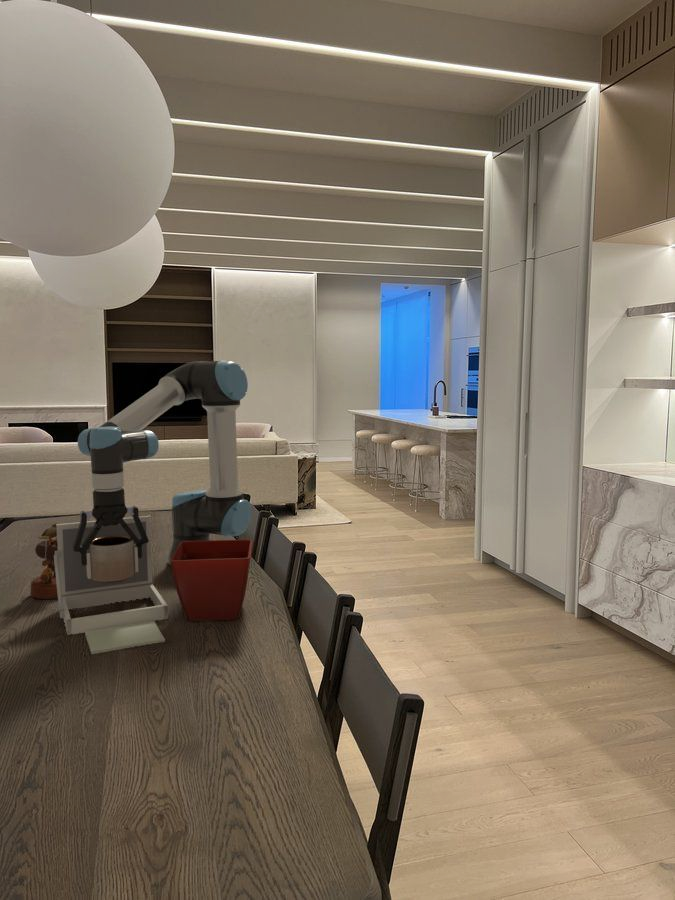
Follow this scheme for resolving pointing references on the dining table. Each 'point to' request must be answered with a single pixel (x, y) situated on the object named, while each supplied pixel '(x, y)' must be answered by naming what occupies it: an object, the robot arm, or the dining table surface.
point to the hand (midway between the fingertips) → (112, 573)
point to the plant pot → (211, 578)
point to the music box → (47, 581)
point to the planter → (112, 559)
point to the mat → (123, 637)
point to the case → (88, 593)
